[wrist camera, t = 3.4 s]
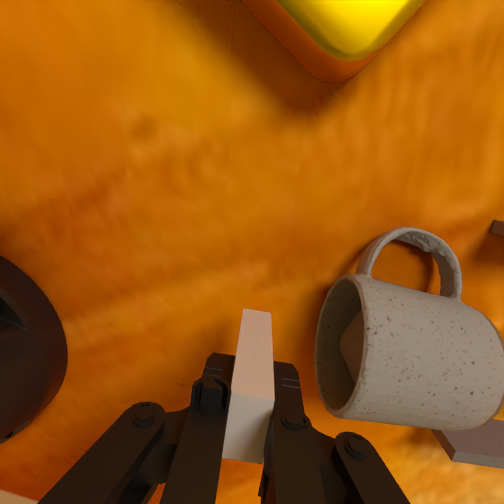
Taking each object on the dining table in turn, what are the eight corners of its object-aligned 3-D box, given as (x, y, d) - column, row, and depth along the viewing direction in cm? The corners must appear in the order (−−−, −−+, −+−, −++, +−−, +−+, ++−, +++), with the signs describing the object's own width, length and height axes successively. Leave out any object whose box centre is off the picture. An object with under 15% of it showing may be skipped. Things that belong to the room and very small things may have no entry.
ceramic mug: (417, 379, 22) (496, 480, 15) (306, 358, 22) (329, 451, 15) (469, 237, 20) (595, 274, 12) (344, 213, 20) (395, 235, 12)
